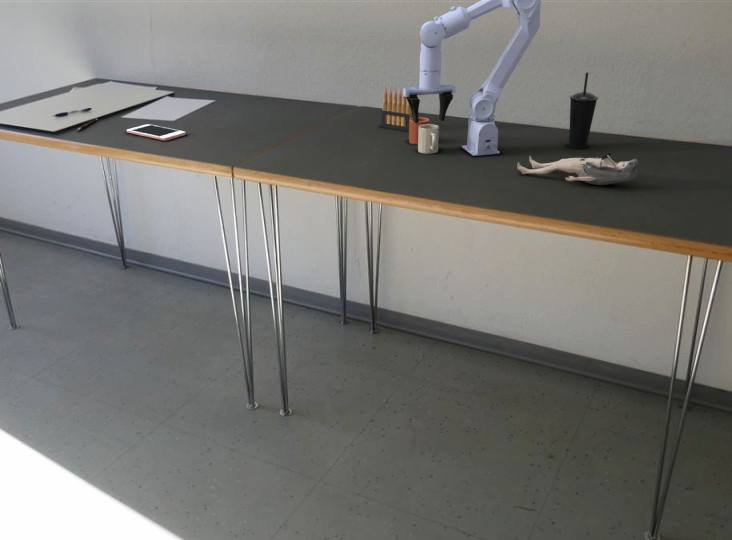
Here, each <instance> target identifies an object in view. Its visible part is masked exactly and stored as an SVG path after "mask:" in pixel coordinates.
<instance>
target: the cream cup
mask: <svg viewBox="0 0 732 540" xmlns="http://www.w3.org/2000/svg"><path fill="white" fill-rule="evenodd" d="M439 138H440V126H439V125H438V124H433V123H429V124H423V125H420V126H419V128H418V144H417V152H418V153H420V154H425V155H429V154H435V153H438V152H439V143H440V142H439Z"/></svg>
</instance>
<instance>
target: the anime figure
mask: <svg viewBox="0 0 732 540" xmlns="http://www.w3.org/2000/svg"><path fill="white" fill-rule="evenodd" d="M611 156H612V153H611V152H607V153H604V154H603V155H602V156H601V157H600V158H599V157H598V156H596V157H587V158H586V157H585V158H584V157H569V158H561V159H559V160H557V161H552V162H547V163H539V162H538V161H536V160H534V159H532V155H529V157H528V159H529V160H528V161H529V163H530V164H531V168H532V169H531V168H530V169H529V168H527V167H524V166H522V165H521V164H520V161H518V162H517V164H516V167H517V170H519V171H520V172H521V174H522V175H527V174H528V175H529V174H530V175H542V176H546V175H549V174H551V173H553V172H555V171H560V172H565V173H570V174H575V175H577V177H575V176H572V175H568V177H566V176H565V178H564V179H565V181H567V182H573V181H579V182H580V181H581V182H584V183H588V184H591V185H597V186H605V185H612V184H619V183H626V182H630V181H633V180H634V179H636V178H637V177H638V176H639V175H640V168H639V159H637V158H633V159H631V160H629V161H628V160H627V161H625V160H623V161H618V160H617V159H616V158H615V156H614V157H613V158H615V160H617V162H615V161H614V160H613V159H612V157H611Z"/></svg>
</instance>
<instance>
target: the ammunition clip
mask: <svg viewBox="0 0 732 540" xmlns="http://www.w3.org/2000/svg"><path fill="white" fill-rule="evenodd" d="M397 91H398V92H397ZM402 91H403V92H404V90H402V89H401V88H399V89H398V90H397V88H396V87H394V89H393V92H392V88H391V87H389V88H388V90H387V87H386V86H384V88H383V96H382V110H381V118H380V119H381V121H380V127H381V128H386V129H393V130H398V131H403V132H404V131H405V132H409V119H411V118H413V115H412V111H411V108H410V105H409V103H408V101H407V98H406V97H405V96H404V95H403V94H402V93H403V92H402Z"/></svg>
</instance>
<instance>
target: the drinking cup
mask: <svg viewBox="0 0 732 540" xmlns="http://www.w3.org/2000/svg"><path fill="white" fill-rule="evenodd" d="M588 78H589V72H585V77H584V85H583V91H579V92H576V93H574V94H570V95H569V100H570V104H569V106H570V107H569V128H568V129H569V131H568V132H569V134H568V138H569V139H568V147H569V148H571V149H585V148H587V145H588V141H589V136H590V132H591V128H592V123H593V118H594V115H595V110H596V106H597V101H598V100H599V96H598V95H595V94H594V93H591V92H588V91H587V89H588V88H587V87H588Z"/></svg>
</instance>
